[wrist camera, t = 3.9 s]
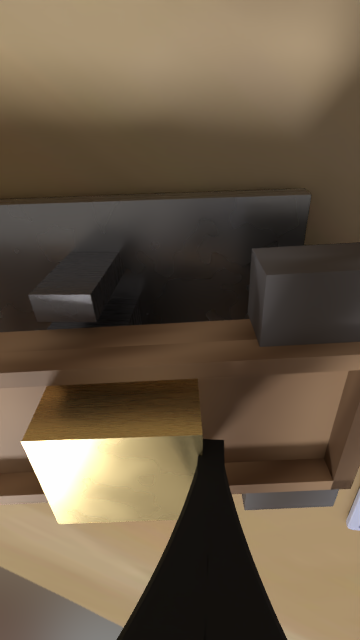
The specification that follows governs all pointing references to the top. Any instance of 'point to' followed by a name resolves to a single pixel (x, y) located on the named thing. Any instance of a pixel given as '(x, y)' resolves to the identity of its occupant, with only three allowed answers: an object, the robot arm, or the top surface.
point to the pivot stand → (138, 256)
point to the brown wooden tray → (225, 379)
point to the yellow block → (116, 449)
